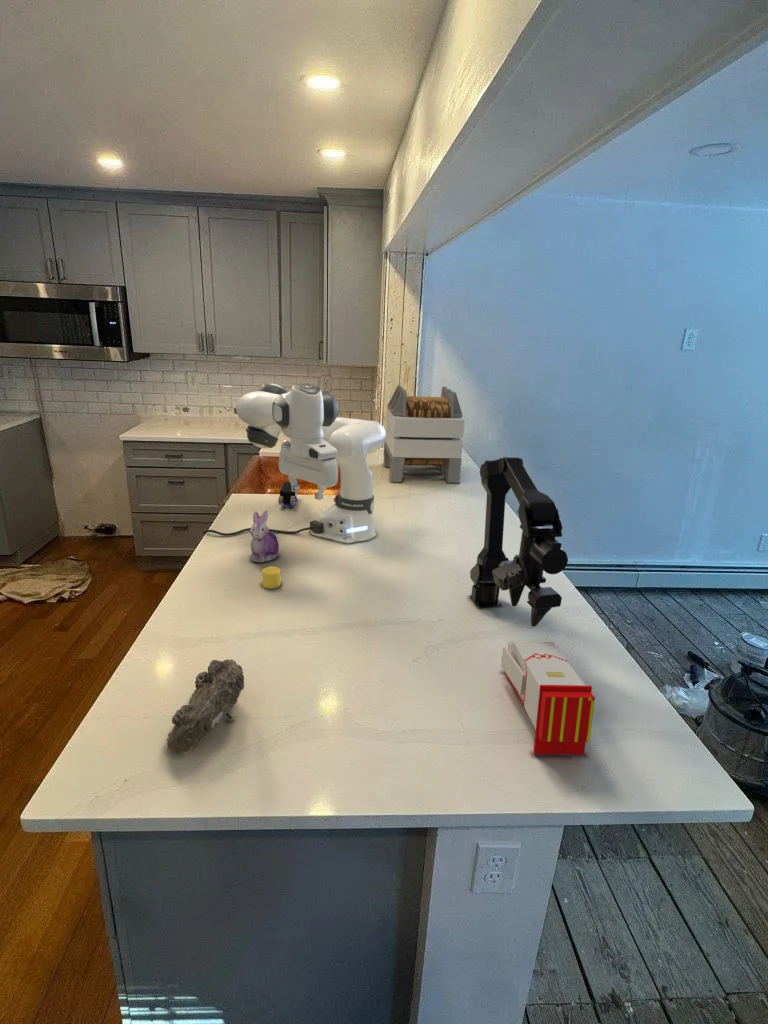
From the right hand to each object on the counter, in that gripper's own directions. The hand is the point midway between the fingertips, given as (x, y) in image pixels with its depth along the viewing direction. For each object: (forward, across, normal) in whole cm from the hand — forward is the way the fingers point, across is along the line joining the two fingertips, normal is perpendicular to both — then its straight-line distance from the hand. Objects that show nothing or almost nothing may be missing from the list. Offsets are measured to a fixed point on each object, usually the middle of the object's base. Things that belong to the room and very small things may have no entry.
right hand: (523, 615), depth 131 cm
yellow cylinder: (+9, -44, -54) cm, 70 cm away
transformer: (+9, -148, +26) cm, 151 cm away
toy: (+9, +19, -6) cm, 22 cm away
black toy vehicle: (+9, -111, -41) cm, 119 cm away
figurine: (+9, -63, -54) cm, 84 cm away
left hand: (-16, -47, -43) cm, 66 cm away
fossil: (+9, +9, -70) cm, 71 cm away
